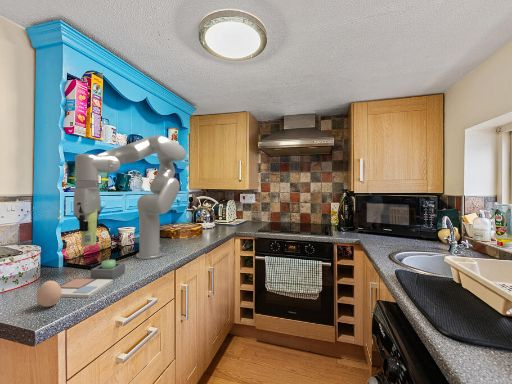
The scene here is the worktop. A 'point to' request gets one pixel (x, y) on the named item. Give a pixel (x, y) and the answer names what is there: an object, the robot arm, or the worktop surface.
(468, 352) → the worktop surface
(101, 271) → the button housing
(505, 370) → the worktop surface
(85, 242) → the tube
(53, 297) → the egg
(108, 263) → the button
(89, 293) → the board
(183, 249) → the worktop surface
